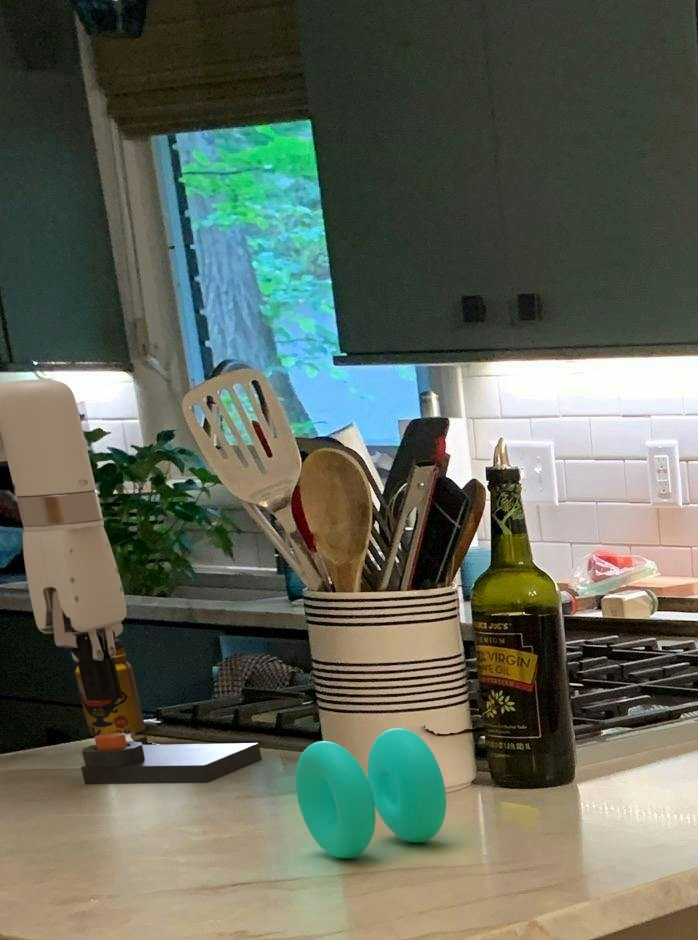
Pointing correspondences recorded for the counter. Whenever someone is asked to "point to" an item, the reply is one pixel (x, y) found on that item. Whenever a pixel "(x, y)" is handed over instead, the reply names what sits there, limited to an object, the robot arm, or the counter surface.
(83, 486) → the robot arm
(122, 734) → the button
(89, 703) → the condiment
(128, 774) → the scale
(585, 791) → the counter surface
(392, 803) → the donuts
